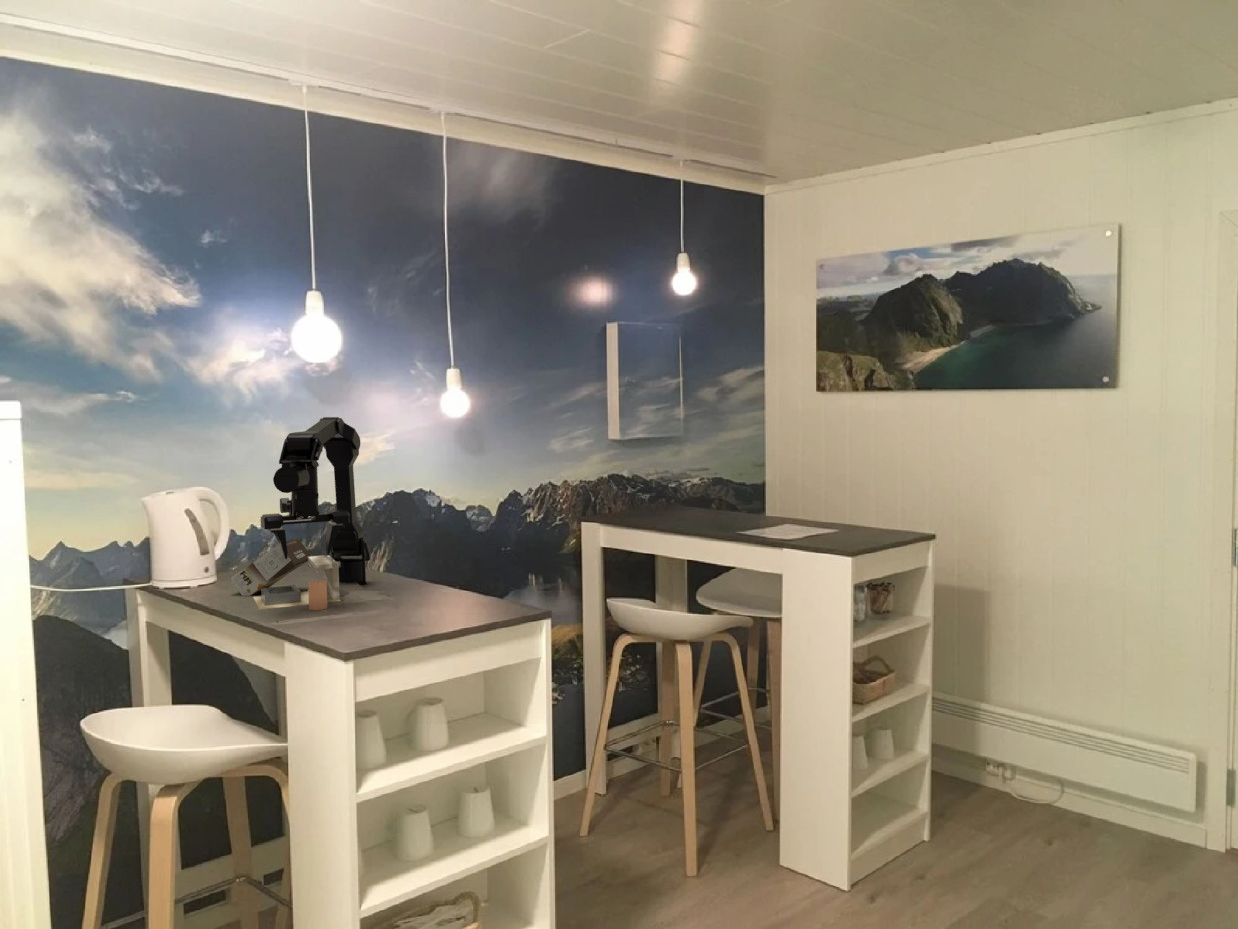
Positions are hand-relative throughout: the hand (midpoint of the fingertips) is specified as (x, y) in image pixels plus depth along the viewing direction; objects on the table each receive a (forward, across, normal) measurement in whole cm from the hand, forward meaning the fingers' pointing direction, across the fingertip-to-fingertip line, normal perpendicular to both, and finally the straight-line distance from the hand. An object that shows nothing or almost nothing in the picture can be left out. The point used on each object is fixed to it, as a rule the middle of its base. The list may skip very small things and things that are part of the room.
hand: (307, 556), depth 222 cm
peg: (+13, -2, +2) cm, 13 cm away
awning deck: (+12, +1, -10) cm, 16 cm away
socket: (+12, +4, -10) cm, 16 cm away
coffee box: (+10, +10, -26) cm, 29 cm away
